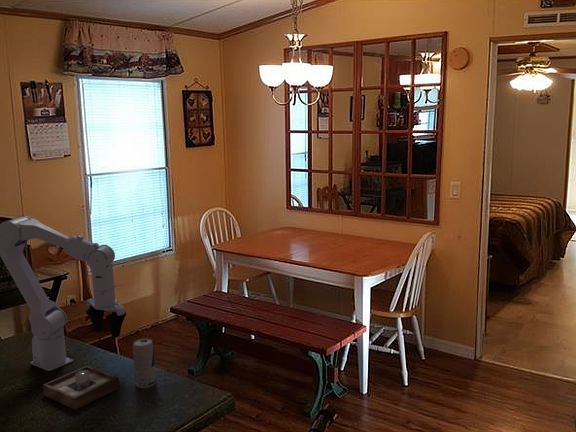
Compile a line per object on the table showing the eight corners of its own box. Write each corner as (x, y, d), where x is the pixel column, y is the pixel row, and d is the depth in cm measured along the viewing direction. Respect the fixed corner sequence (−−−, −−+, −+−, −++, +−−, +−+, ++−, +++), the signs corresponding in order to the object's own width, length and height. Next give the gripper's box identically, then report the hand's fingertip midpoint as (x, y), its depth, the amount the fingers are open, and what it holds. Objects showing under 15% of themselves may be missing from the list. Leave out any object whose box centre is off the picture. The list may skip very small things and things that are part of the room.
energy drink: (157, 379, 155) (155, 337, 153) (153, 388, 150) (151, 345, 148) (138, 379, 155) (135, 338, 153) (133, 389, 150) (130, 346, 147)
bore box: (43, 395, 147) (42, 384, 147) (88, 375, 158) (87, 365, 158) (75, 409, 140) (74, 398, 139) (119, 387, 150) (118, 377, 150)
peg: (73, 392, 148) (71, 375, 148) (83, 386, 152) (81, 369, 151) (84, 395, 147) (82, 377, 146) (94, 388, 150) (92, 371, 149)
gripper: (131, 289, 160) (135, 334, 162) (99, 281, 168) (103, 324, 170) (111, 296, 154) (114, 343, 156) (79, 287, 162) (83, 332, 165)
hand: (107, 334), depth 163 cm, fingers open, 7 cm apart
